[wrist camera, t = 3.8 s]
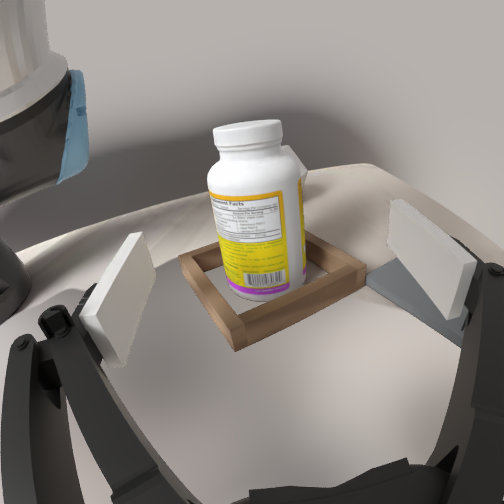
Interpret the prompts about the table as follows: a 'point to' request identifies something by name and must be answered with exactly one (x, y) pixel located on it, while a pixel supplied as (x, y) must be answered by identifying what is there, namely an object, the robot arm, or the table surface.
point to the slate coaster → (414, 299)
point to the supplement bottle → (258, 210)
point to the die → (303, 170)
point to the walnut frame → (282, 308)
